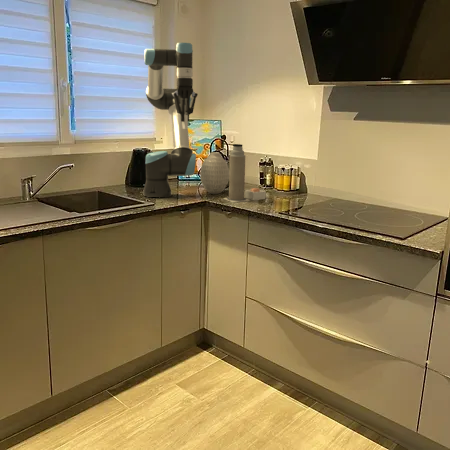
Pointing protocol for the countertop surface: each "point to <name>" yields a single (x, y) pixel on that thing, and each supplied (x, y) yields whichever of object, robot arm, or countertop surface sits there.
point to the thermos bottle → (237, 173)
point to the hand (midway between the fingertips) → (185, 128)
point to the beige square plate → (236, 200)
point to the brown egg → (255, 189)
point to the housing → (255, 195)
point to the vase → (214, 173)
